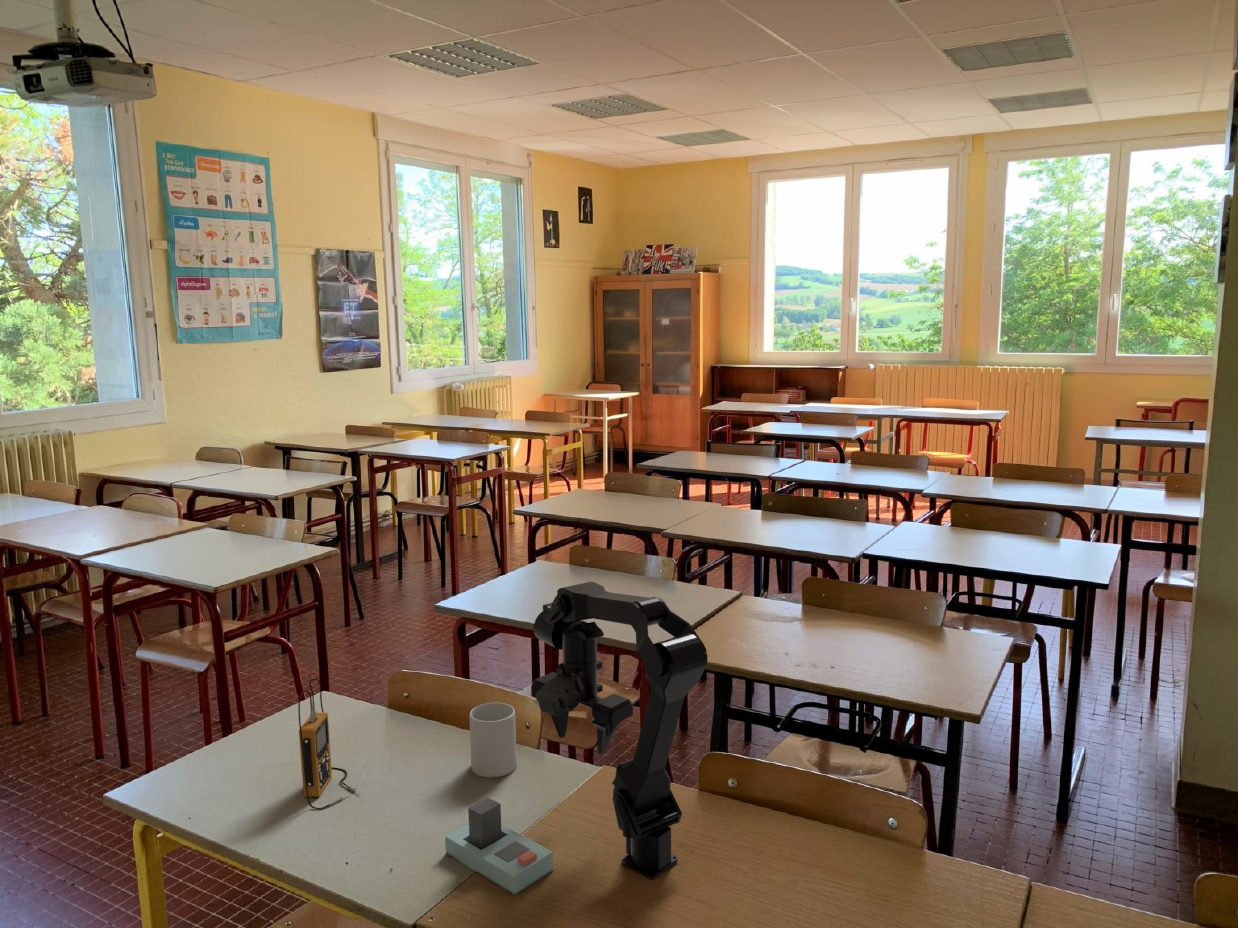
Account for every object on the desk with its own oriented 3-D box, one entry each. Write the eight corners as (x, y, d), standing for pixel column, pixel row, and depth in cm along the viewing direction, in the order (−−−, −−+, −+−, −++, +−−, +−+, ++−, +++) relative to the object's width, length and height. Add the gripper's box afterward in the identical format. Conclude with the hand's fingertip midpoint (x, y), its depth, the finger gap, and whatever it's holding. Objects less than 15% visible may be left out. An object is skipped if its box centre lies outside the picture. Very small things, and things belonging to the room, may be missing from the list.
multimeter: (353, 810, 157) (346, 700, 153) (295, 810, 157) (287, 701, 153) (377, 767, 171) (371, 667, 168) (324, 767, 171) (317, 667, 168)
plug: (489, 843, 146) (487, 797, 144) (502, 850, 144) (500, 803, 143) (470, 854, 143) (468, 807, 141) (482, 861, 141) (481, 814, 140)
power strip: (553, 869, 139) (552, 847, 139) (514, 895, 133) (513, 871, 133) (484, 831, 150) (484, 810, 149) (445, 853, 144) (444, 831, 143)
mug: (504, 781, 166) (502, 724, 164) (462, 773, 169) (460, 718, 167) (532, 751, 177) (530, 698, 175) (493, 744, 180) (491, 692, 178)
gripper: (505, 658, 151) (508, 745, 154) (587, 687, 139) (589, 782, 141) (553, 639, 159) (555, 723, 162) (634, 665, 147) (635, 755, 150)
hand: (581, 745), depth 154 cm, fingers open, 9 cm apart
